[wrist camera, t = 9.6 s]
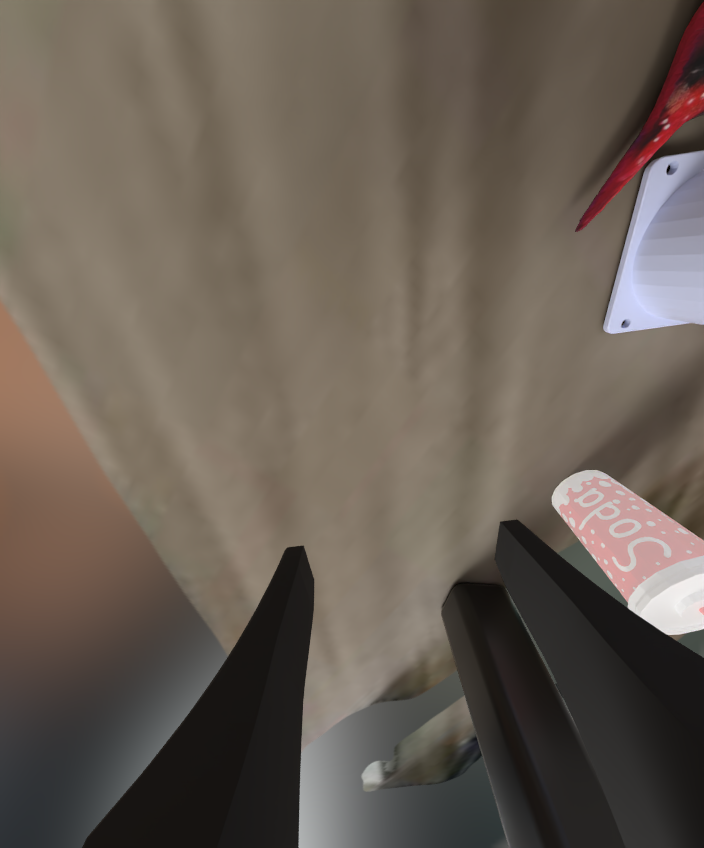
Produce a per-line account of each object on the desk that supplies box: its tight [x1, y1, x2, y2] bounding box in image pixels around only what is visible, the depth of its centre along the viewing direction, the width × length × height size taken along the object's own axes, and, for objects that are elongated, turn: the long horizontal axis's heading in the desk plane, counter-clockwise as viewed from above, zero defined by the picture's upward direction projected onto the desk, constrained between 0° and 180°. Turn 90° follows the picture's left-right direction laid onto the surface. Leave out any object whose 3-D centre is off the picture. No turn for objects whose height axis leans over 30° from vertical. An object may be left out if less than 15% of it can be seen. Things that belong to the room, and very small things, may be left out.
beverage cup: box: [552, 470, 704, 635], centre depth 18 cm, size 6×6×14 cm
